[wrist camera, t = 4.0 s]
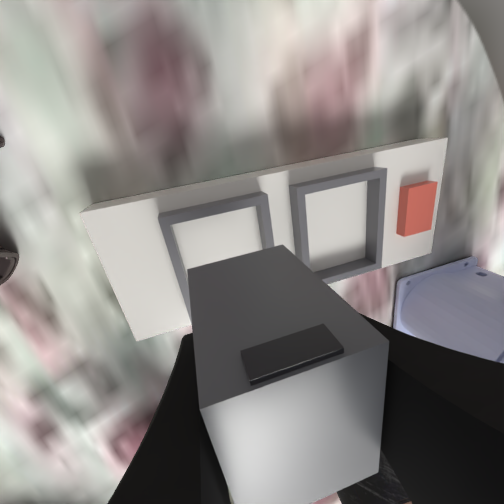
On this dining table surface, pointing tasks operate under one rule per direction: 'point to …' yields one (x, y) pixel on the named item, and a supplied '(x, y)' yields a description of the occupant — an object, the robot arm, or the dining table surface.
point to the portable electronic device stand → (7, 253)
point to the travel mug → (376, 488)
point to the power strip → (269, 224)
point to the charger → (285, 378)
